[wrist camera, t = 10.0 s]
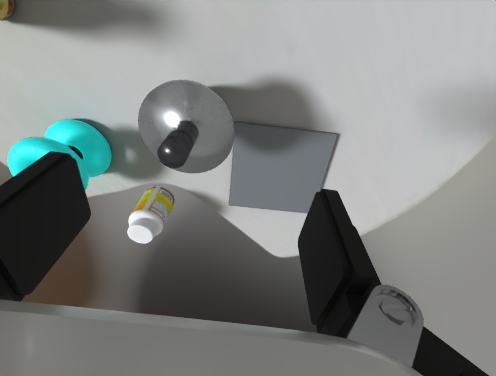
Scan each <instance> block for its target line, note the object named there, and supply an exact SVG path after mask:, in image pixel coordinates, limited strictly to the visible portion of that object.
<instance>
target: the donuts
mask: <svg viewBox="0 0 496 376" xmlns="http://www.w3.org/2000/svg"><path fill="white" fill-rule="evenodd" d="M69 145H70V146H74V147H76V148H77V149H78V150H79V151H80V152H81V153H82V155H83V159H82V158H80V157H79V156H78V155H77V154H76V153H75V152H74V151H73V150H72V149H70V148H69ZM50 151H55V152H62V153H68V154H70V155H71V156H72V158H75V159H76V161H77V164H78V168H79V171H80V175H81V179H82V182H83V186H84V189H85V190H86V188H87V186H88V180H89V177H94V176H98V175H100V174H102V173H104V172H105V171H106V170H107V169H108V167H109V165H110V163H111V159H112V154H111V149H110V146H109V144H108V142H107V140H106V139H105V137H104V136H103V135H102V134H101V133H100V132H99V131H98V130H97V129H95V128H94V127H92V126H91V125H89V124H87V123H85V122H82V121H78V120H73V119H65V120H60V121H57V122H55V123H53V124H52V125H51V126H50V127H49V128H48V129H47V131H46V134H45V137H29V138H25V139H22V140H20V141H18V142H17V143H15V144H14V145H13V146H12V147H11V149H10V151H9V154H8V166H9V169H10V171H11V173H12V175H13V177H14V176H15V175H17V174H18V173H19V172H21V171H22V170H24V169H25V168H27V167H28V166H29V165H31V164H32V163H34V162H35V161H37V160H38V159H40V158H41V157H42V156H44V155H45V154H47V153H48V152H50Z"/></svg>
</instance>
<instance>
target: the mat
mask: <svg viewBox="0 0 496 376" xmlns="http://www.w3.org/2000/svg"><path fill="white" fill-rule="evenodd" d="M336 138H337V133H330V132H321V131H312V130H302V129H293V128H284V127H275V126H266V125H257V124H248V123H239V122H235V136H234V144H233V157H232V171H231V184H230V197H229V205H230V206H240V207H250V208H260V209H270V210H280V211H289V212H299V213H308V212H309V209H310V207H311V204H312V201H313V199H314V196H315V194H316V192H320V189H321V186H322V182H323V179H324V176H325V173H326V170H327V167H328V163H329V160H330V157H331V154H332V151H333V148H334V144H335V141H336Z"/></svg>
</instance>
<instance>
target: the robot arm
mask: <svg viewBox="0 0 496 376" xmlns="http://www.w3.org/2000/svg"><path fill="white" fill-rule="evenodd" d="M90 215H91V211H90V207H89V204H88V200H87V196H86V193H85V189H84V186H83V182H82V179H81V175H80V171H79V168H78V164H77V161H76V159H75V158H72V156H71V155H70V154H68V153H62V152H55V151H50V152H48V153H47V154H45V155H44V156H42V157H41V158H40V159H38V160H37V161H35V162H34V163H32V164H31V165H29V166H28V167H27V168H25V169H24V170H22V171H21V172H19V173H18V174H17V175H15V176H14V177H12V178H11V179H9V180H8V181H7V182H5V183H4V184H2V185H1V186H0V376H489V375H487V374H486V373H485V372H483V371H482V370H481V369H479V368H478V367H477V366H475V365H474V364H473V363H471V362H470V361H469V360H467V359H466V358H465V357H463V356H462V355H461V354H459V353H458V352H457V351H456V350H454V349H453V348H452V347H450V346H449V345H448V344H446V343H445V342H444V341H442V340H441V339H440V338H438V337H437V336H436V335H434V334H433V333H432V332H431V331H429V330H428V329H426V328H425V327H424V326H423V323H424V322H423V321H424V319H423V315H422V312H421V310H420V309H419V307H418V305H417V304H416V303H415V302H414V301H413V299H412V298H411V297H410V296H408V295H407V294H406V293H404V292H403V291H401V290H400V289H398V288H396V287H393V286H390V285H382V284H381V282H380V280H379V278H378V276H377V273H376V271H375V269H374V267H373V265H372V263H371V260H370V258H369V256H368V254H367V252H366V249H365V247H364V245H363V243H362V240H361V238H360V236H359V234H358V231H357V229H356V228H355V227H354V226H353V225H352V222H351V220H350V218H349V216H348V213H347V211H346V209H345V207H344V204H343V202H342V200H341V198H340V195H339V193H338V192H337V191H335V190H328V189H322V190H321V191H320V192H316V194H315V196H314V199H313V201H312V204H311V207H310V209H309V212H308V214H307V217H306V220H305V222H304V225H303V228H302V230H301V233H300V235H299V238H298V249H299V255H300V260H301V266H302V272H303V278H304V283H305V289H306V295H307V301H308V306H309V311H310V317H311V322H312V324H313V325H316V327H317V332H318V333H313V332H304V331H296V330H288V329H280V328H272V327H264V326H255V325H245V324H236V323H226V322H217V321H208V320H198V319H189V318H179V317H170V316H159V315H150V314H140V313H130V312H120V311H111V310H100V309H91V308H81V307H70V306H60V305H50V304H38V303H29V302H21V300H22V299H23V298H24V296H25V295H28V294H30V293H32V291H33V290H34V289H35V288H36V287H37V285H38V284H39V283H40V282H41V280H42V279H43V278H44V276H45V275H46V274H47V273H48V271H49V270H50V269H51V268H52V266H53V265H54V264H55V262H56V261H57V260H58V259H59V257H60V256H61V255H62V254H63V252H64V251H65V250H66V248H67V247H68V246H69V245H70V243H71V242H72V241H73V240H74V238H75V237H76V236H77V234H78V233H79V232H80V230H81V229H82V228H83V227H84V226H85V224H86V223H87V222H88V220H89V219H90Z"/></svg>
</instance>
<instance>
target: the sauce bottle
mask: <svg viewBox="0 0 496 376" xmlns="http://www.w3.org/2000/svg"><path fill="white" fill-rule="evenodd" d="M14 7H15V2H14V0H0V20H6V18H8V17H10V15H11V14H12V12H13V11H14Z"/></svg>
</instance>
